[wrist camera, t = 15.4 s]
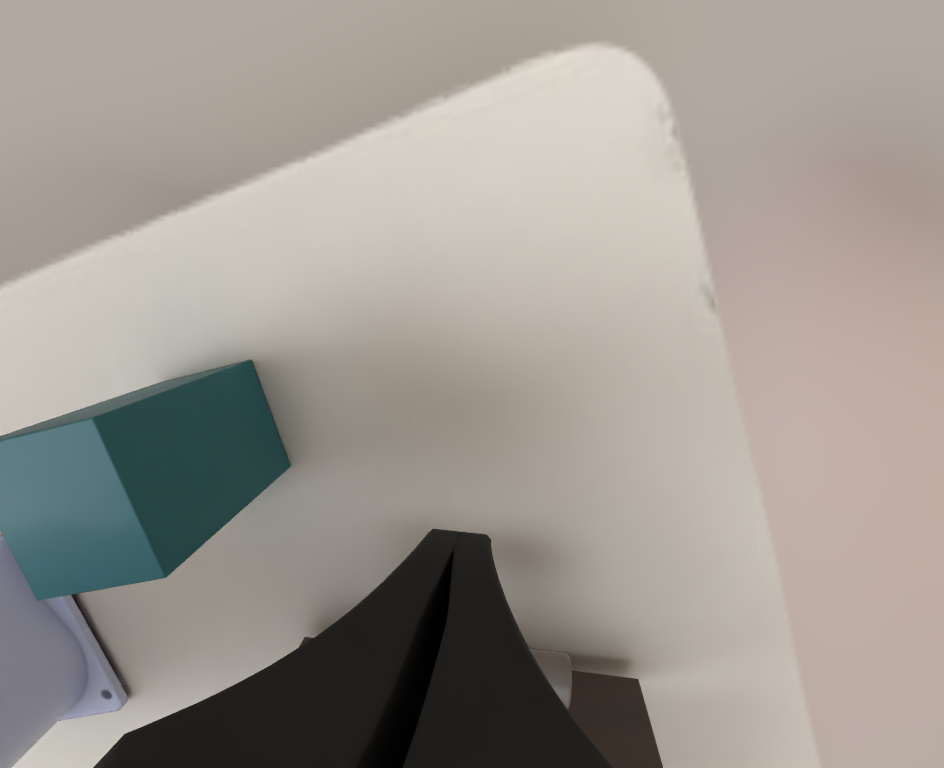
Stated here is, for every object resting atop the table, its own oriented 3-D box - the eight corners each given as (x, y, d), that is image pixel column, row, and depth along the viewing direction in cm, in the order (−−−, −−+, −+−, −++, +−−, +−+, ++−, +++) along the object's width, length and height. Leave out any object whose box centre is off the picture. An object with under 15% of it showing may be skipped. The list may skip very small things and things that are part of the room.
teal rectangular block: (158, 382, 18) (-44, 451, 12) (251, 359, 18) (92, 417, 11) (201, 485, 19) (36, 601, 13) (291, 466, 19) (166, 578, 12)
